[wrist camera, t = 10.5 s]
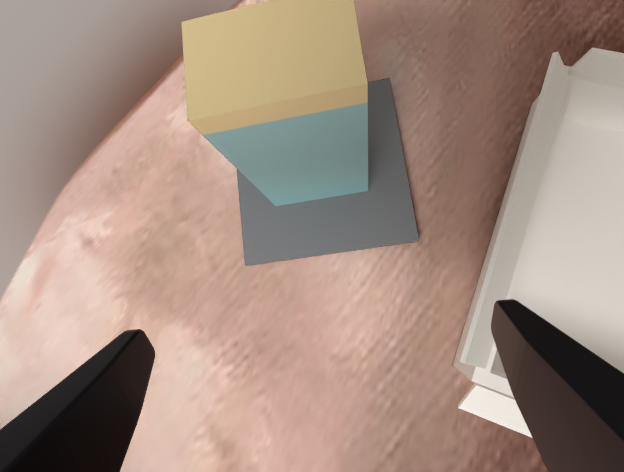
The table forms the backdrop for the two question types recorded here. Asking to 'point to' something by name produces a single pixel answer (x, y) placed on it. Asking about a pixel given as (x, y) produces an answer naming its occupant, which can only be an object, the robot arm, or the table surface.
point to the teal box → (282, 95)
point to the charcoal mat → (338, 203)
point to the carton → (556, 230)
